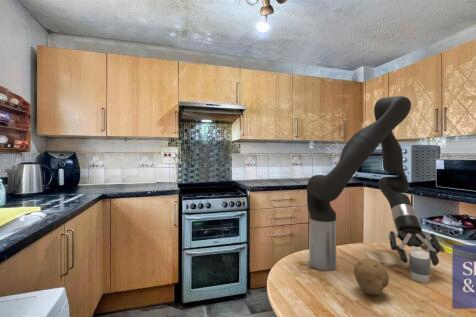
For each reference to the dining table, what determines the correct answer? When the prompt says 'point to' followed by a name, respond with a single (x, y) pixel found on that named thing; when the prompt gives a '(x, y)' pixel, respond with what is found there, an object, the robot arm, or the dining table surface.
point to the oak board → (389, 259)
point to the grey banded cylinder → (419, 265)
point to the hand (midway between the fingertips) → (420, 263)
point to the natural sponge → (371, 276)
